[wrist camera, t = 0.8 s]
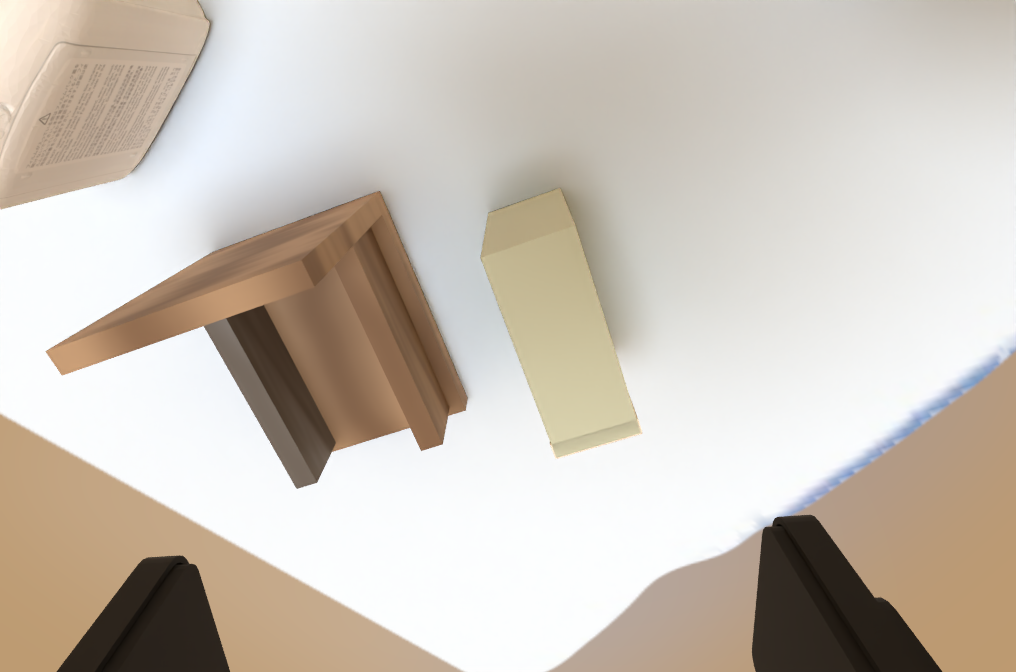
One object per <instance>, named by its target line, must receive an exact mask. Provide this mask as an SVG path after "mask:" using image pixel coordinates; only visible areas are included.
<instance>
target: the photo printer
mask: <svg viewBox="0 0 1016 672" xmlns="http://www.w3.org/2000/svg"><path fill="white" fill-rule="evenodd" d="M204 17H205V16H204V13H203V10H202V8H201V7H200V5H199V3H198V2H197V0H0V209H4V208H8V207H12V206H16V205H20V204H24V203H28V202H32V201H36V200H40V199H44V198H47V197H51V196H55V195H59V194H63V193H67V192H71V191H75V190H79V189H83V188H87V187H91V186H95V185H100V184H103V183H107V182H112V181H116V180H119V179H122V178H124V177H126V176H127V175H128V174H129V173H130V172H131V171H132V170H133V169H134V168H135V167H136V166H137V165H138V163H139V162H140V161H141V159H142V158H143V156H144V155H145V153H146V151H147V150H148V148H149V146H150V145H151V143H152V141H153V140H154V138H155V136H156V134H157V133H158V131H159V129H160V127H161V126H162V124H163V122H164V120H165V118H166V117H167V115H168V113H169V111H170V109H171V107H172V105H173V104H174V102H175V100H176V98H177V96H178V95H179V93H180V91H181V89H182V87H183V85H184V83H185V82H186V80H187V78H188V75H189V74H190V72H191V70H192V68H193V66H194V64H195V62H196V60H197V58H198V56H199V54H200V52H201V49H202V47H203V45H204V42H205V39H206V37H207V34H208V30H209V25H210V23H209V21H208V20H207V19H205V18H204Z"/></svg>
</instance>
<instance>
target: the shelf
mask: <svg viewBox="0 0 1016 672" xmlns="http://www.w3.org/2000/svg"><path fill="white" fill-rule="evenodd" d="M202 326H204V327H205V329H206V331H207V332H208V334H209V336H210V338H211V339H212V341H213V343H214V345H215V346H216V348H217V350H218V352H219V353H220V355H221V357H222V359H223V360H224V362H225V364H226V366H227V367H228V369H229V371H230V373H231V374H232V376H233V378H234V380H235V381H236V383H237V385H238V387H239V388H240V390H241V392H242V394H243V395H244V397H245V399H246V401H247V402H248V404H249V406H250V408H251V410H252V411H253V413H254V415H255V417H256V418H257V420H258V422H259V424H260V425H261V427H262V429H263V431H264V432H265V434H266V436H267V438H268V439H269V441H270V443H271V445H272V446H273V448H274V450H275V452H276V453H277V455H278V457H279V459H280V460H281V462H282V464H283V466H284V467H285V469H286V471H287V473H288V474H289V476H290V478H291V480H292V481H293V483H294V485H295V487H296V488H297V489H298V488H301V487H304V486H308V485H311V484H314V483H317V482H318V480H319V477H320V475H321V473H322V471H323V469H324V467H325V465H326V463H327V461H328V459H329V457H330V454H331V452H333V451H336V450H340V449H343V448H346V447H349V446H353V445H356V444H359V443H362V442H365V441H369V440H372V439H375V438H378V437H381V436H385V435H388V434H391V433H394V432H398V431H401V430H404V429H407V428H411V430H412V432H413V434H414V437H415V439H416V441H417V443H418V445H419V447H420V449H421V451H422V450H426V449H429V448H432V447H435V446H439V445H442V444H443V440H444V434H445V429H446V424H447V419H448V416H449V415H452V414H455V413H459V412H462V411H465V410H466V405H467V396H466V394H465V391H464V389H463V386H462V384H461V382H460V379H459V377H458V375H457V372H456V370H455V368H454V365H453V363H452V360H451V358H450V356H449V353H448V351H447V349H446V346H445V344H444V342H443V339H442V337H441V335H440V332H439V330H438V327H437V325H436V323H435V320H434V318H433V316H432V313H431V311H430V309H429V306H428V304H427V302H426V299H425V297H424V294H423V292H422V290H421V287H420V285H419V283H418V280H417V278H416V276H415V273H414V271H413V268H412V266H411V264H410V261H409V259H408V257H407V254H406V252H405V250H404V247H403V245H402V243H401V240H400V238H399V235H398V233H397V231H396V228H395V226H394V224H393V221H392V219H391V217H390V214H389V212H388V209H387V207H386V205H385V202H384V200H383V198H382V195H381V193H380V191H378V192H375V193H373V194H370V195H367V196H364V197H362V198H359V199H356V200H353V201H351V202H348V203H345V204H343V205H340V206H337V207H334V208H332V209H329V210H326V211H323V212H321V213H318V214H315V215H312V216H310V217H307V218H304V219H302V220H299V221H296V222H293V223H291V224H288V225H285V226H282V227H280V228H277V229H274V230H272V231H269V232H266V233H263V234H261V235H258V236H255V237H252V238H250V239H247V240H244V241H242V242H239V243H236V244H233V245H231V246H228V247H225V248H222V249H220V250H217V251H214V252H212V253H210V254H208V255H207V256H205V257H203V258H202V259H200V260H198V261H197V262H195V263H193V264H192V265H190V266H188V267H186V268H185V269H183V270H181V271H180V272H178V273H176V274H175V275H173V276H171V277H170V278H168V279H166V280H165V281H163V282H161V283H160V284H158V285H156V286H155V287H153V288H151V289H150V290H148V291H146V292H144V293H143V294H141V295H139V296H138V297H136V298H134V299H133V300H131V301H129V302H128V303H126V304H124V305H123V306H121V307H119V308H118V309H116V310H114V311H113V312H111V313H109V314H107V315H106V316H104V317H102V318H101V319H99V320H97V321H96V322H94V323H92V324H91V325H89V326H87V327H86V328H84V329H82V330H81V331H79V332H77V333H76V334H74V335H72V336H70V337H69V338H67V339H65V340H64V341H62V342H60V343H59V344H57V345H55V346H54V347H52V348H50V349H49V350H47V351H46V353H47V354H48V356H49V357H50V359H51V360H52V361H53V363H54V364H55V366H56V367H57V369H58V370H59V372H60V373H61V375H65V374H68V373H71V372H73V371H76V370H79V369H82V368H85V367H88V366H91V365H93V364H96V363H99V362H102V361H105V360H108V359H111V358H114V357H116V356H119V355H122V354H125V353H128V352H131V351H134V350H136V349H139V348H142V347H145V346H148V345H151V344H154V343H156V342H159V341H162V340H165V339H168V338H171V337H174V336H176V335H179V334H182V333H185V332H188V331H191V330H194V329H196V328H199V327H202Z"/></svg>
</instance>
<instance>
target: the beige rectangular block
mask: <svg viewBox="0 0 1016 672" xmlns="http://www.w3.org/2000/svg"><path fill="white" fill-rule="evenodd" d="M481 261H482V263H483V266H484V268H485V271H486V274H487V276H488V279H489V282H490V284H491V287H492V289H493V292H494V295H495V297H496V300H497V303H498V305H499V308H500V311H501V313H502V316H503V318H504V321H505V324H506V326H507V329H508V332H509V334H510V337H511V339H512V342H513V345H514V347H515V350H516V353H517V355H518V358H519V361H520V363H521V366H522V368H523V371H524V374H525V376H526V379H527V382H528V384H529V387H530V389H531V392H532V395H533V397H534V400H535V403H536V405H537V408H538V411H539V413H540V416H541V418H542V421H543V424H544V426H545V429H546V432H547V434H548V437H549V440H550V445H551V448H552V450H553V453H554V456H555V458H556V459H558V458H561V457H564V456H568V455H571V454H575V453H578V452H581V451H585V450H588V449H592V448H595V447H598V446H602V445H605V444H609V443H612V442H615V441H619V440H622V439H626V438H629V437H632V436H636V435H639V434H642V430H641V427H640V424H639V421H638V418H637V415H636V412H635V410H634V407H633V404H632V401H631V398H630V396H629V393H628V390H627V387H626V383H625V380H624V377H623V374H622V371H621V368H620V365H619V361H618V358H617V355H616V352H615V349H614V346H613V342H612V339H611V336H610V333H609V330H608V327H607V323H606V320H605V317H604V314H603V311H602V308H601V304H600V301H599V298H598V295H597V292H596V289H595V285H594V282H593V279H592V276H591V273H590V270H589V267H588V263H587V260H586V257H585V254H584V251H583V248H582V244H581V241H580V238H579V235H578V232H577V229H576V225H575V223H574V221H573V218H572V216H571V213H570V211H569V208H568V206H567V204H566V201H565V199H564V196H563V194H562V191H561V189H560V188H558V189H555V190H552V191H549V192H547V193H544V194H541V195H538V196H535V197H532V198H530V199H527V200H524V201H521V202H518V203H515V204H513V205H510V206H507V207H504V208H501V209H498V210H496V211H493V212H490V213H488V218H487V224H486V230H485V235H484V241H483V247H482V252H481Z"/></svg>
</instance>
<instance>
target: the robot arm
mask: <svg viewBox="0 0 1016 672" xmlns="http://www.w3.org/2000/svg"><path fill="white" fill-rule="evenodd" d="M752 656H753V662H754V667H755V671H756V672H942V671H941V669H940V668H939V667H938V665H937V664H936V663H935V661H934V660H933V659H932V657H931V656H930V655H929V653H928V652H927V651H926V650H925V648H924V647H923V645H922V644H921V643H920V641H919V640H918V639H917V638H916V636H915V635H914V633H913V632H912V631H911V629H910V628H909V627H908V625H907V624H906V623H905V621H904V620H903V619H902V617H901V616H900V615H899V613H898V612H897V611H896V609H895V608H894V607H893V606H892V605H891V604H890V603H889V602H888V601H886V600H884V599H883V598H874V596H873V595H872V594H871V592H870V591H869V590H868V588H867V587H866V585H865V584H864V583H863V581H862V580H861V578H860V577H859V576H858V574H857V573H856V572H855V570H854V569H853V568H852V566H851V565H850V563H849V562H848V561H847V559H846V558H845V556H844V555H843V554H842V552H841V551H840V550H839V548H838V547H837V545H836V544H835V543H834V541H833V540H832V539H831V537H830V536H829V535H828V533H827V532H826V530H825V529H824V528H823V526H822V525H821V523H820V522H819V521H818V520H817V519H816V517H815V516H812V515H801V516H785V517H777V518H775V519H774V521H773V525H772V527H765V528H764V529H763V534H762V543H761V554H760V565H759V576H758V589H757V599H756V610H755V622H754V633H753V645H752ZM57 672H230V670H229V667H228V664H227V660H226V657H225V654H224V651H223V647H222V644H221V641H220V638H219V635H218V632H217V628H216V625H215V622H214V619H213V615H212V612H211V609H210V606H209V602H208V599H207V596H206V593H205V590H204V586H203V583H202V580H201V577H200V573H199V570H198V568H197V566H196V565H194V564H189V563H188V561H187V559H186V558H185V557H184V556H165V557H150V558H146V559H143V560H142V561H141V562H140V563H139V564H138V566H137V567H136V568H135V569H134V571H133V572H132V573H131V575H130V576H129V577H128V578H127V580H126V581H125V583H124V584H123V585H122V587H121V588H120V589H119V590H118V592H117V593H116V594H115V596H114V597H113V598H112V600H111V601H110V602H109V604H108V605H107V606H106V607H105V609H104V610H103V612H102V613H101V614H100V615H99V617H98V618H97V619H96V621H95V622H94V623H93V624H92V626H91V627H90V629H89V630H88V631H87V632H86V634H85V635H84V636H83V638H82V639H81V640H80V642H79V643H78V644H77V646H76V647H75V648H74V650H73V651H72V652H71V653H70V655H69V656H68V657H67V659H66V660H65V661H64V663H63V664H62V665H61V667H60V668H59V669H58V671H57Z"/></svg>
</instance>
